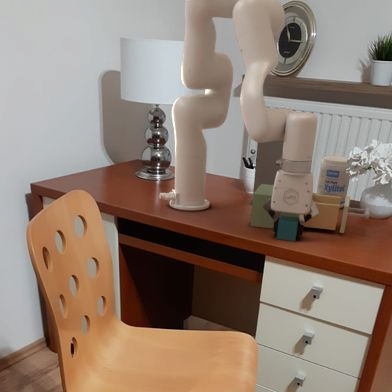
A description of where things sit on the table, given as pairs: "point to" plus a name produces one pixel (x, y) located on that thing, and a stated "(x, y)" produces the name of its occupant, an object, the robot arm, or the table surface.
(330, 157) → the supplement tub
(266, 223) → the cabinet
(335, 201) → the drawer
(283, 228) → the block
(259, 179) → the tall taupe upright panel
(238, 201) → the table surface
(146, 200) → the table surface
